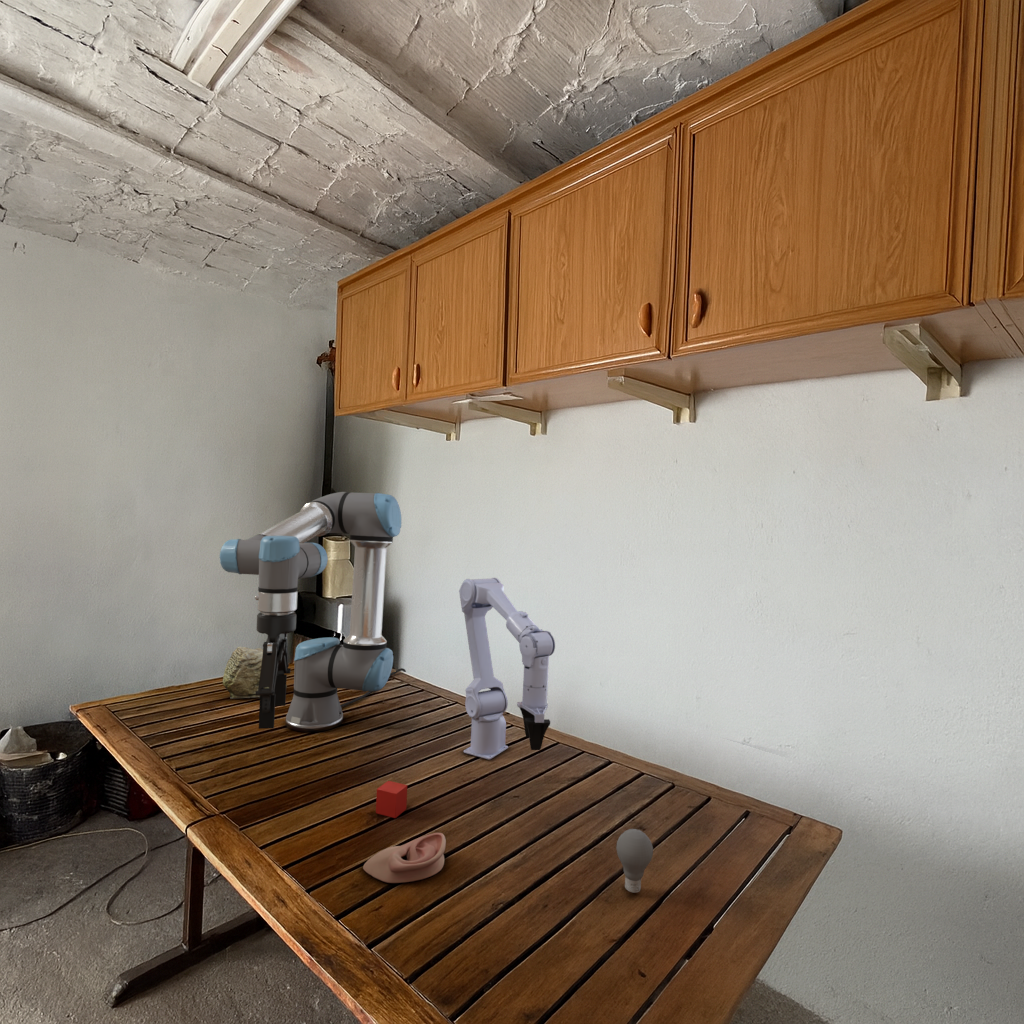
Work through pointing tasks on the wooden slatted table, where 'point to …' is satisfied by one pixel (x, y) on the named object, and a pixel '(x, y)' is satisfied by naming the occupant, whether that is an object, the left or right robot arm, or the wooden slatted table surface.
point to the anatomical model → (409, 860)
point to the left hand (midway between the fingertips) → (272, 716)
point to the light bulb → (634, 857)
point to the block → (391, 799)
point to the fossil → (243, 672)
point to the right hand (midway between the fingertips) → (532, 742)
